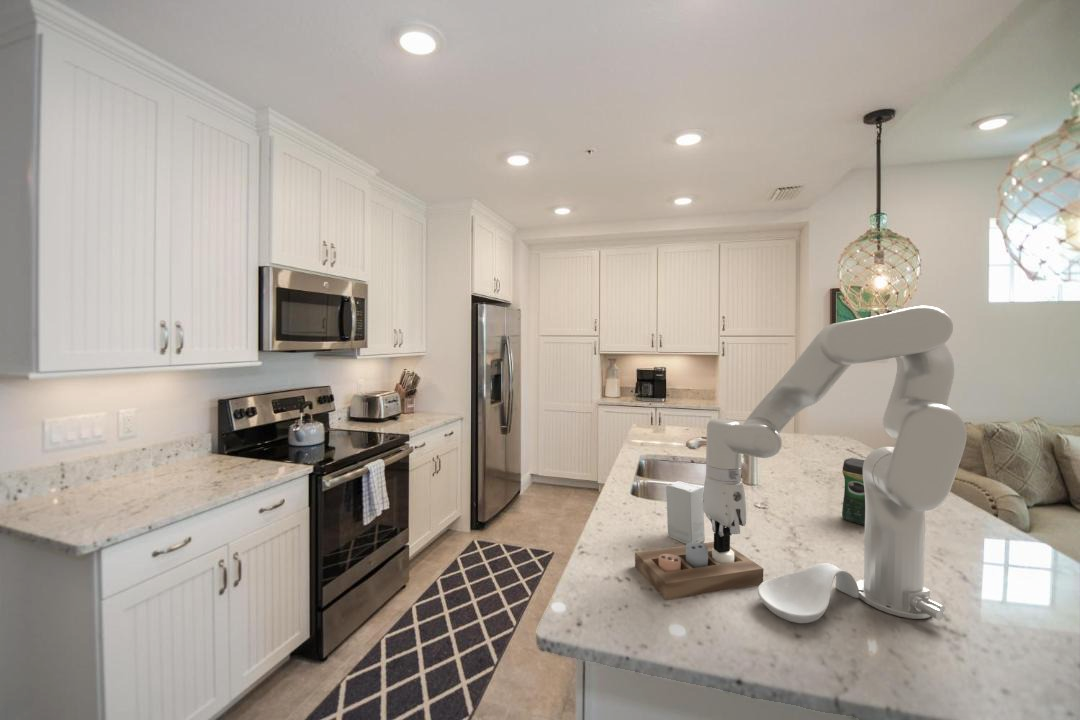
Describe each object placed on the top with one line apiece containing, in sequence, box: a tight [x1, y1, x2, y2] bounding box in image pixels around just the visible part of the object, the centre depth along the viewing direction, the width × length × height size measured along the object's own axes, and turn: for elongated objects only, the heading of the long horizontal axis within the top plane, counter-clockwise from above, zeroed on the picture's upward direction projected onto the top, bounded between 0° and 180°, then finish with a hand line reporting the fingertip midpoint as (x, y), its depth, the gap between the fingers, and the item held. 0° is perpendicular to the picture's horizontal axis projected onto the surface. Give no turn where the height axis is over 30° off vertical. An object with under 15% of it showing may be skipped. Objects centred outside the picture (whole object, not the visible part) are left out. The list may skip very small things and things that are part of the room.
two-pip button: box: [685, 543, 708, 568], centre depth 99 cm, size 5×5×5 cm
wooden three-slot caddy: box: [634, 541, 764, 601], centre depth 99 cm, size 14×24×4 cm, turn 104°
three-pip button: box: [659, 554, 681, 572], centre depth 97 cm, size 5×5×5 cm
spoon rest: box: [757, 562, 860, 624], centre depth 87 cm, size 24×12×7 cm, turn 114°
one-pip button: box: [712, 548, 734, 564], centre depth 100 cm, size 5×5×5 cm
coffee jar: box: [841, 457, 865, 526], centre depth 128 cm, size 10×8×19 cm
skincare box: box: [665, 480, 706, 545], centre depth 117 cm, size 8×6×15 cm
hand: (721, 550), depth 100 cm, fingers closed
